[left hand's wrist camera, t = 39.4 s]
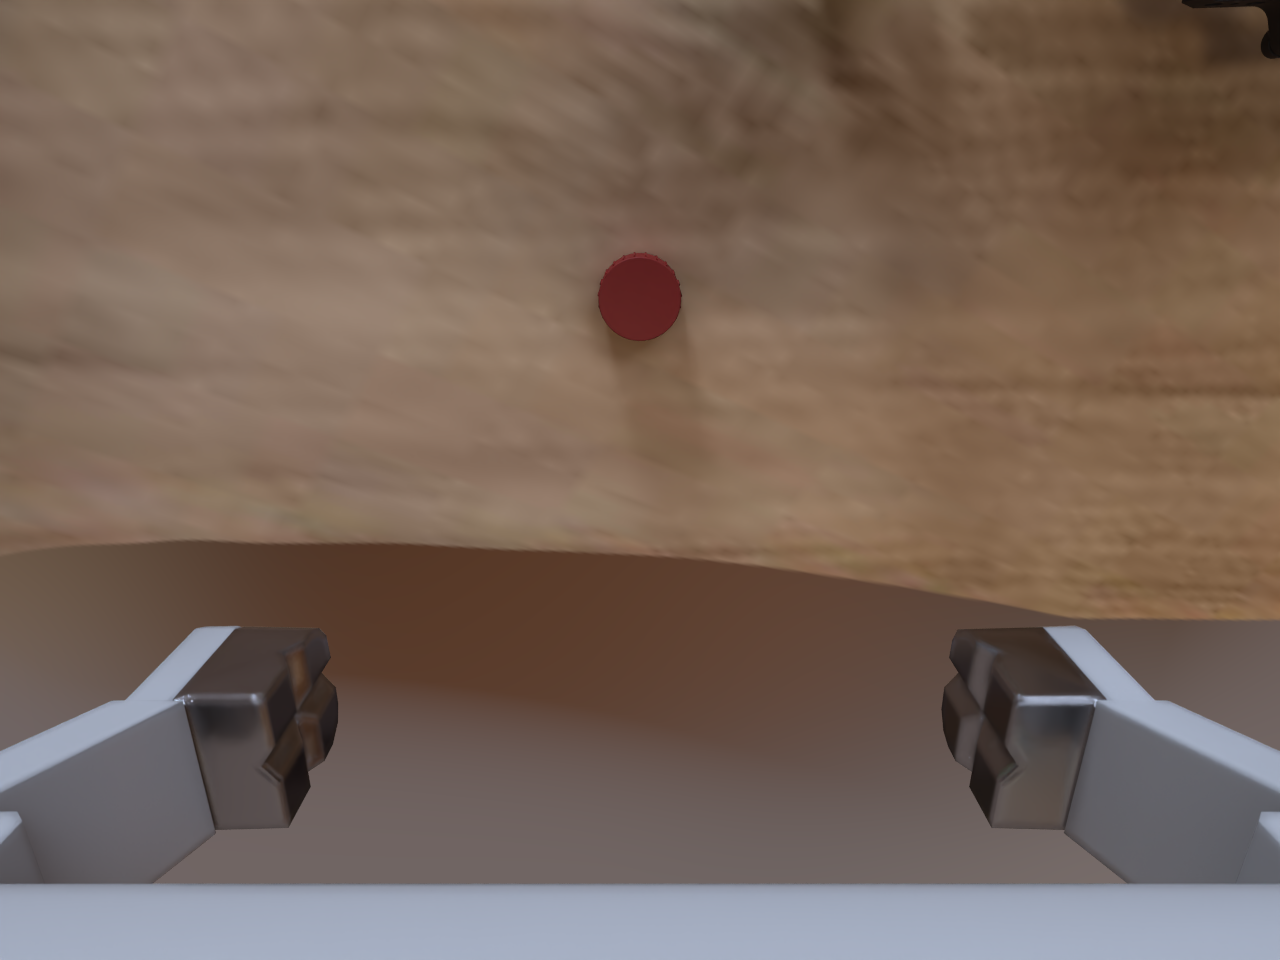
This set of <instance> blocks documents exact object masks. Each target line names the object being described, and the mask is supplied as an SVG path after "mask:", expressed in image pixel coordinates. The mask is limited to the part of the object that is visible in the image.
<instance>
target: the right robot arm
mask: <svg viewBox="0 0 1280 960" xmlns="http://www.w3.org/2000/svg"><path fill="white" fill-rule="evenodd" d="M1182 3H1183V4H1185V5H1187V6H1190V7H1192V8H1215V7H1245V6H1256V7H1259V8H1261V9H1262V10H1263V11H1264V12H1265V13H1266V15H1267V19H1268V27H1269V31H1268V32H1267V33H1266V34H1265V35H1264V37H1263V39H1262V42H1261V51H1262V53H1263V55H1264V56H1265V57H1267V58H1270V59H1274V58H1280V0H1182Z"/></svg>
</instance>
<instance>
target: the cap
mask: <svg viewBox="0 0 1280 960" xmlns="http://www.w3.org/2000/svg"><path fill="white" fill-rule="evenodd" d="M600 285H601V286H600V290H599V292H598V296H599V308H600V312H601V315H602V317H603V319H604V321H605V322H606V324H607V325H608V326H609V327H610V328H611V329H612V330H613V331H614V332H615V333H617V334H618V335H620V336H622V337H624V338H627V339H630V340H636V341H644V340H650V339H653V338H656V337H658V336H660V335H661V334H663V333H664V332H666V331H667V330H668V329H669V328H670V327H671V326H672V324H673V323H674V322H675V320H676V319H677V316H678V313H679V310H680V308H681V297H682V294H681V291H680V288H679V285H680V283H679V281H678V280H677V279H676V276H675V273H674V270H672V269H671V268H670V267H669V266H668V265H667V262H666V261H665V262H664V261H663V260H661V259H660V258H658V257H657V256H653V255H650V254H647V253H646V252H645V253H635V252H634V254H629V255H626V256H625V255H623V257H622V258H620V259H618V260H617V261H616V262H615V261H614V262H613V264H612V265H611V266H610V268H609V269H607V270H606V272H605V275H604V277H603V279H601V282H600Z"/></svg>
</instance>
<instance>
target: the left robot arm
mask: <svg viewBox="0 0 1280 960" xmlns="http://www.w3.org/2000/svg"><path fill="white" fill-rule="evenodd" d="M330 658H331V657H330V652H329V647H328V642H327V637H326V635H325V634H324V633H323V632H322V631H321V630H320V629H319V628H289V627H288V628H287V627H239V626H212V627H202V628H197V629H195V630H194V631H193V632H192V633H191V634H190V635H189V636H188V637H187V638H186V639H185V640H184V641H183V642H182V643H181V644H180V645H179V646H178V647H177V648H176V649H175V650H174V651H173V652H172V653H171V654H170V655H169V656H168V657H167V658H166V659H165V660H164V661H163V662H162V663H161V664H160V665H159V667H158V668H157V669H156V670H155V671H154V672H153V673H152V674H151V675H150V676H149V677H148V678H147V679H146V680H145V681H144V682H143V683H142V684H141V685H140V686H139V687H138V688H137V689H136V690H135V691H134V692H133V693H132V694H131V695H130V696H129V697H128V698H127V699H126V700H125V701H110V702H108V703H106V704H104V705H101V706H99V707H97V708H95V709H93V710H90V711H88V712H86V713H84V714H81V715H79V716H77V717H75V718H73V719H70V720H68V721H66V722H64V723H62V724H59V725H57V726H55V727H53V728H50V729H48V730H46V731H44V732H42V733H39V734H37V735H35V736H33V737H31V738H28V739H26V740H24V741H22V742H20V743H17V744H15V745H13V746H11V747H8V748H6V749H4V750H2V751H0V960H1280V751H1278V750H1276V749H1273V748H1271V747H1269V746H1267V745H1265V744H1262V743H1260V742H1258V741H1256V740H1254V739H1251V738H1249V737H1247V736H1245V735H1243V734H1240V733H1238V732H1236V731H1234V730H1232V729H1229V728H1227V727H1225V726H1223V725H1221V724H1218V723H1216V722H1214V721H1212V720H1210V719H1207V718H1205V717H1203V716H1201V715H1198V714H1196V713H1194V712H1192V711H1190V710H1187V709H1185V708H1183V707H1181V706H1179V705H1176V704H1174V703H1172V702H1170V701H1155V700H1154V699H1153V698H1152V697H1151V696H1150V695H1149V694H1148V693H1147V692H1146V691H1145V690H1144V689H1143V688H1142V687H1141V686H1140V685H1139V684H1138V683H1137V682H1136V681H1135V680H1134V679H1133V678H1132V677H1131V676H1130V675H1129V673H1128V672H1127V671H1126V670H1125V669H1124V668H1123V667H1122V666H1121V665H1120V664H1119V663H1118V662H1117V661H1116V660H1115V659H1114V658H1113V657H1112V656H1111V655H1110V654H1109V653H1108V652H1107V651H1106V650H1105V649H1104V648H1103V647H1102V646H1101V645H1100V644H1099V643H1098V642H1097V641H1096V640H1095V639H1094V638H1093V637H1092V636H1091V635H1090V634H1089V633H1088V632H1087V631H1086V630H1085V629H1082V628H1080V627H1077V626H1056V627H1029V628H990V629H959V630H957V632H956V634H955V636H954V638H953V640H952V645H951V651H950V656H949V658H950V660H951V661H952V663H953V664H954V666H955V668H956V669H957V671H958V672H959V673H958V674H957V675H956V676H955V677H954V678H953V679H952V680H951V681H950V682H949V683H948V684H947V685H946V686H945V687H944V694H943V702H942V719H943V731H944V734H945V737H946V741H947V744H948V747H949V749H950V751H951V753H952V755H953V757H954V759H955V761H957V762H958V763H960V764H961V765H963V766H964V767H966V768H967V769H969V770H970V771H972V775H971V780H970V786H969V787H970V789H971V791H972V793H973V794H974V796H975V798H976V800H977V802H978V804H979V805H980V807H981V809H982V811H983V813H984V814H985V816H986V818H987V820H988V822H989V824H990V826H991V827H992V828H1016V829H1053V830H1065V831H1064V833H1065V834H1066V835H1067V836H1068V837H1070V838H1071V839H1072V840H1073V841H1075V842H1076V843H1077V844H1078V845H1080V846H1081V847H1082V848H1083V849H1085V850H1086V851H1087V852H1089V853H1090V854H1091V855H1092V856H1094V857H1095V858H1096V859H1097V860H1099V861H1100V862H1101V863H1102V864H1104V865H1105V866H1106V867H1107V868H1109V869H1110V870H1111V871H1112V872H1114V873H1115V874H1116V875H1118V876H1119V877H1120V878H1121V879H1123V880H1124V881H1125V882H1126V883H1128V884H153V883H154V882H155V881H156V880H158V879H159V878H160V877H161V876H163V875H164V874H165V873H166V872H168V871H169V870H170V869H172V868H173V867H174V866H175V865H177V864H178V863H179V862H180V861H182V860H183V859H184V858H185V857H187V856H188V855H189V854H190V853H192V852H193V851H194V850H196V849H197V848H198V847H199V846H201V845H202V844H203V843H204V842H206V841H207V840H208V839H209V838H211V837H212V836H213V835H215V833H216V831H215V830H227V829H262V828H288V827H289V826H290V824H291V822H292V820H293V818H294V817H295V815H296V813H297V811H298V809H299V807H300V806H301V804H302V802H303V800H304V798H305V796H306V794H307V793H308V791H309V789H310V787H311V786H310V780H309V775H308V771H310V770H311V769H313V768H314V767H316V766H317V765H319V764H320V763H322V762H323V761H325V759H326V757H327V755H328V753H329V751H330V749H331V747H332V745H333V741H334V737H335V732H336V728H337V723H338V700H337V693H336V687H335V686H334V685H333V684H332V683H331V682H330V681H329V680H328V679H327V678H326V677H325V676H324V675H323V674H322V673H321V672H322V671H323V669H324V668H325V666H326V664H327V663H328V661H329V660H330Z"/></svg>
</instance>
